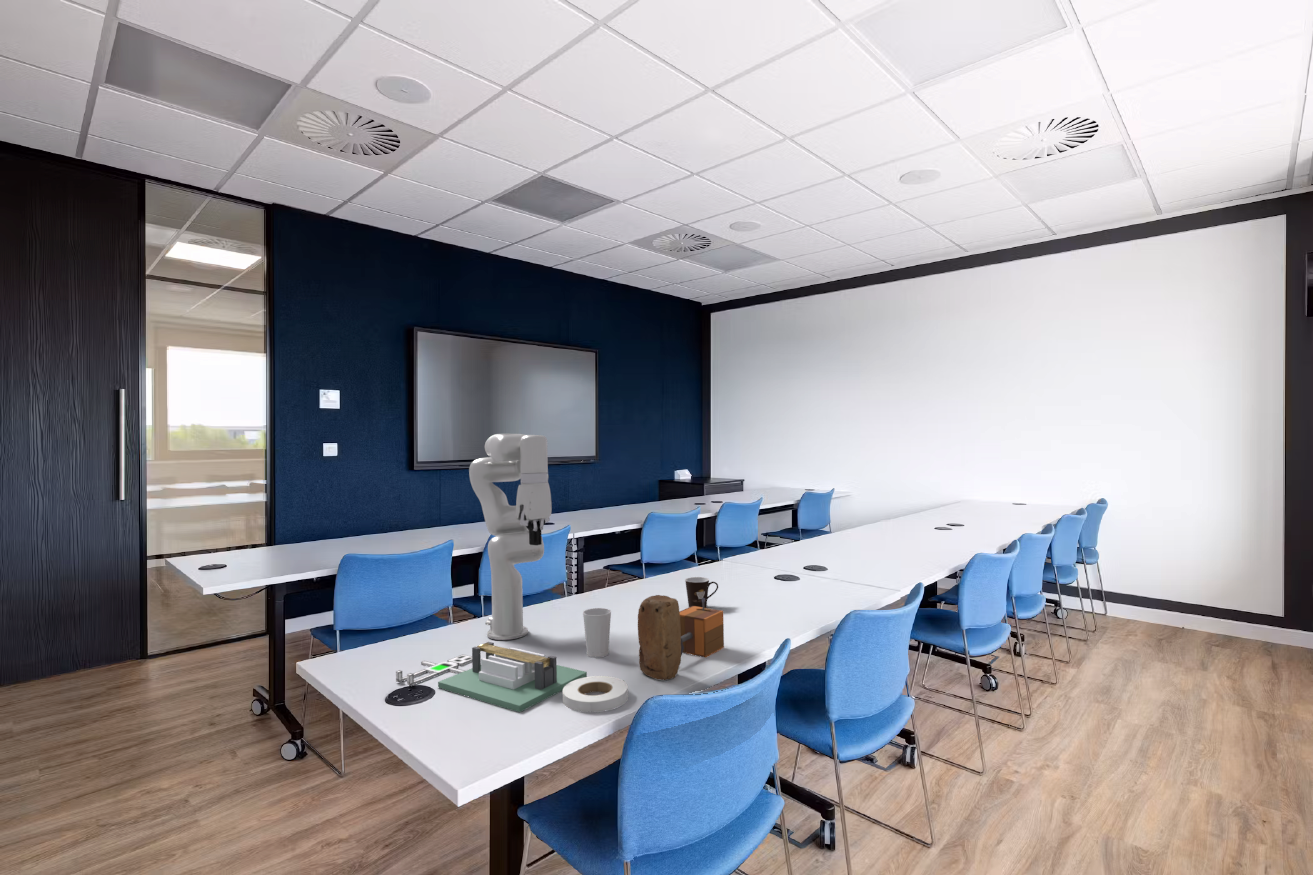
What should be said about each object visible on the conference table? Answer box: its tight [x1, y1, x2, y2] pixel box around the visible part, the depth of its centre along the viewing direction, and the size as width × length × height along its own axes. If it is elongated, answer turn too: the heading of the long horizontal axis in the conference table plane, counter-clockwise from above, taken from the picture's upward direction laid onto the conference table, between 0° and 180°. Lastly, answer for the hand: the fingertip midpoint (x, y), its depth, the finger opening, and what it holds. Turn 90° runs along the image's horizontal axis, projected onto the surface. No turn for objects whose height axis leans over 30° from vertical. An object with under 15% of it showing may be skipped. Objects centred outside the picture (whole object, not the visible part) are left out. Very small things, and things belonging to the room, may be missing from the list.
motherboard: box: [437, 641, 588, 713], centre depth 161 cm, size 28×24×8 cm
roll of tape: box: [562, 675, 629, 713], centre depth 151 cm, size 16×15×3 cm
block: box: [637, 594, 682, 681], centre depth 165 cm, size 11×8×20 cm
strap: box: [476, 642, 550, 667], centre depth 162 cm, size 23×3×2 cm, turn 57°
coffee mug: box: [684, 576, 719, 608], centre depth 230 cm, size 12×9×10 cm
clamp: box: [679, 598, 725, 659], centre depth 180 cm, size 11×20×14 cm, turn 144°
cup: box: [582, 607, 612, 659], centre depth 182 cm, size 8×8×12 cm
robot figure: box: [395, 654, 472, 687], centre depth 171 cm, size 16×3×22 cm
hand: (535, 544), depth 179 cm, fingers closed
